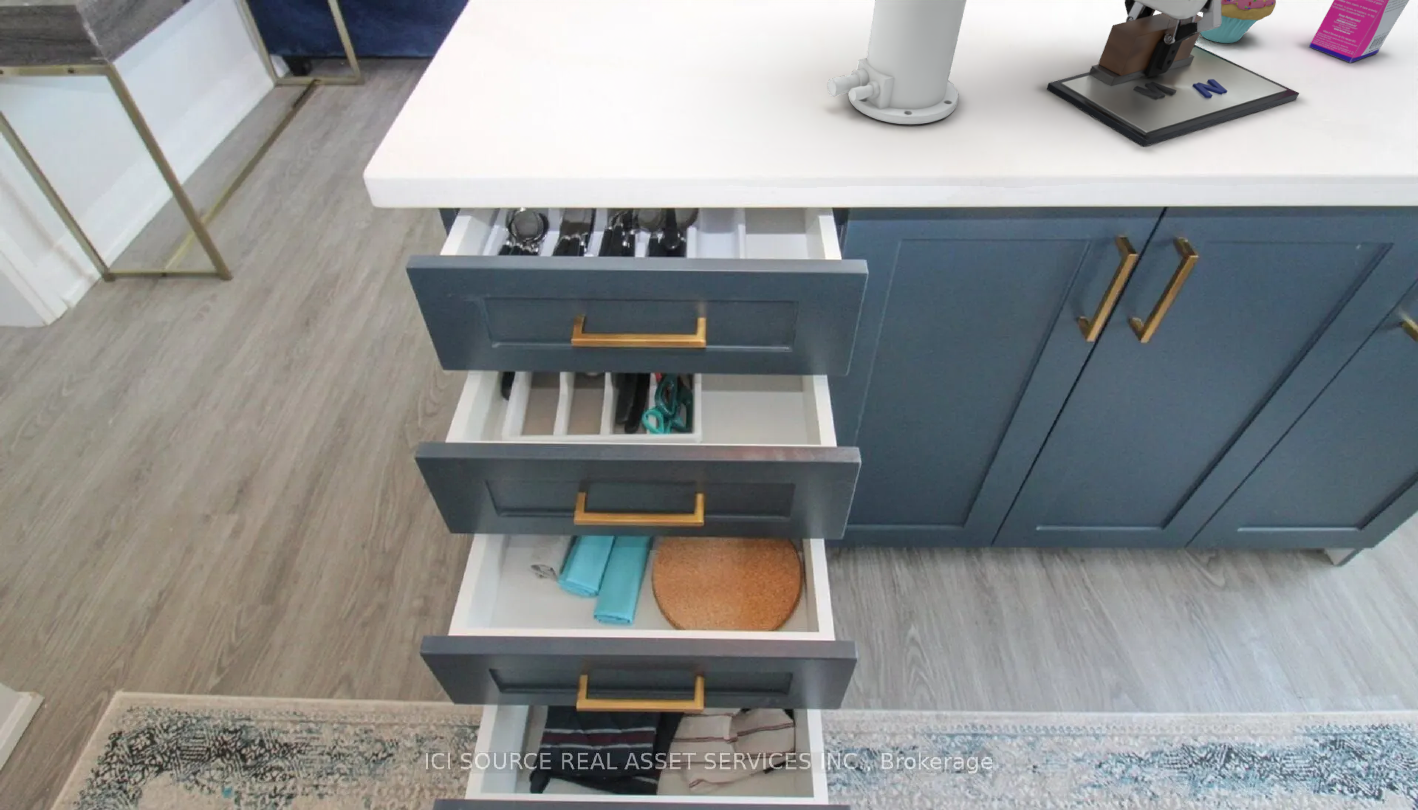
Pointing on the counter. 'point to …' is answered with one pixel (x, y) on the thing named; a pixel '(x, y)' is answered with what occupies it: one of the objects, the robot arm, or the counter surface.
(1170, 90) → the scribble
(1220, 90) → the scribble
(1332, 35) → the supplement box
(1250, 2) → the cupcake
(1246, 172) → the counter surface
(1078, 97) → the whiteboard
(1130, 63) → the eraser
